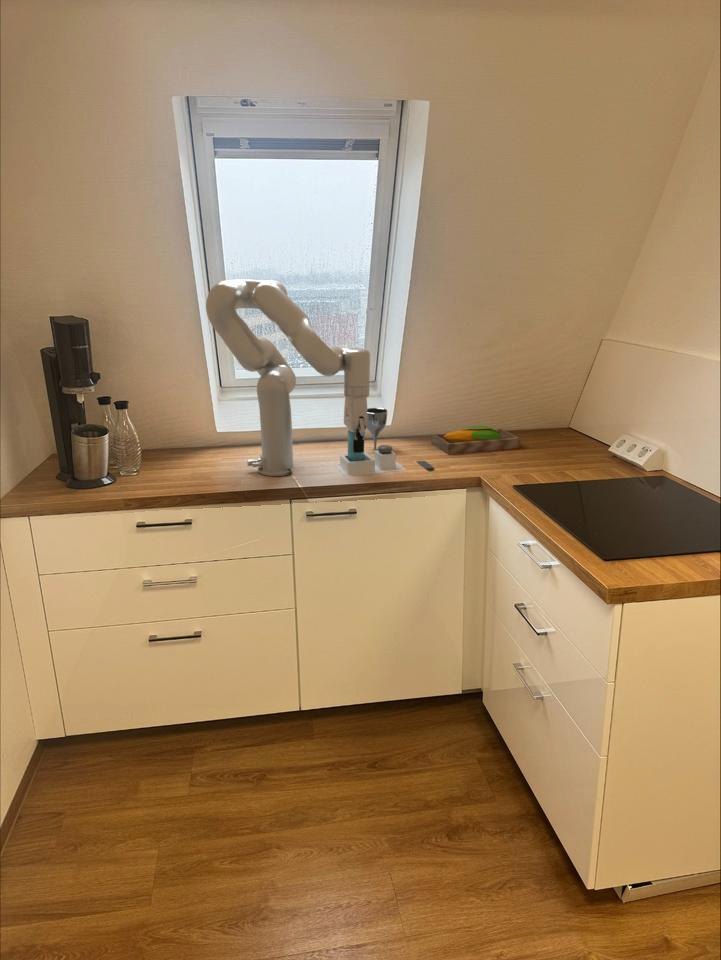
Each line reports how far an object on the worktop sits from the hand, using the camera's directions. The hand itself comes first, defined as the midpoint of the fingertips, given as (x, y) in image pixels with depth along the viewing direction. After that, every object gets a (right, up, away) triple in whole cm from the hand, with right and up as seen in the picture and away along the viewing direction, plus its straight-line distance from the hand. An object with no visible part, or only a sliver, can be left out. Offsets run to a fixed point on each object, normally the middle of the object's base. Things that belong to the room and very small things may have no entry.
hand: (355, 449), depth 205 cm
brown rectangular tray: (+42, +3, +32) cm, 53 cm away
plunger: (+9, -5, +4) cm, 11 cm away
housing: (+4, -7, +4) cm, 9 cm away
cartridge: (0, -5, +2) cm, 5 cm away
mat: (+20, -6, +8) cm, 22 cm away
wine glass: (+6, -1, +23) cm, 24 cm away
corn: (+41, +2, +31) cm, 52 cm away
